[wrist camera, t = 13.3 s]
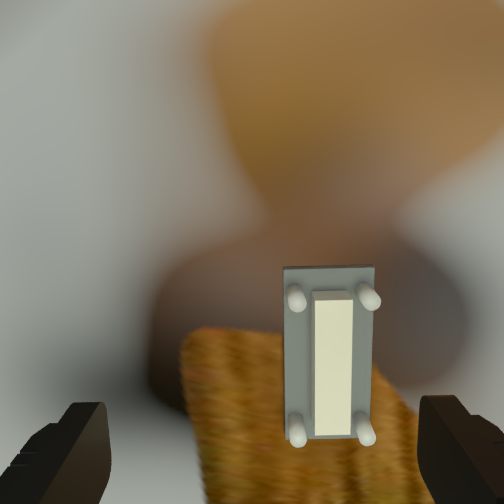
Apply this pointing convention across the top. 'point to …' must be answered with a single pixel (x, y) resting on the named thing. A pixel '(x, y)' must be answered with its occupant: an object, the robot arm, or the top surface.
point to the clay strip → (331, 362)
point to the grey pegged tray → (299, 346)
